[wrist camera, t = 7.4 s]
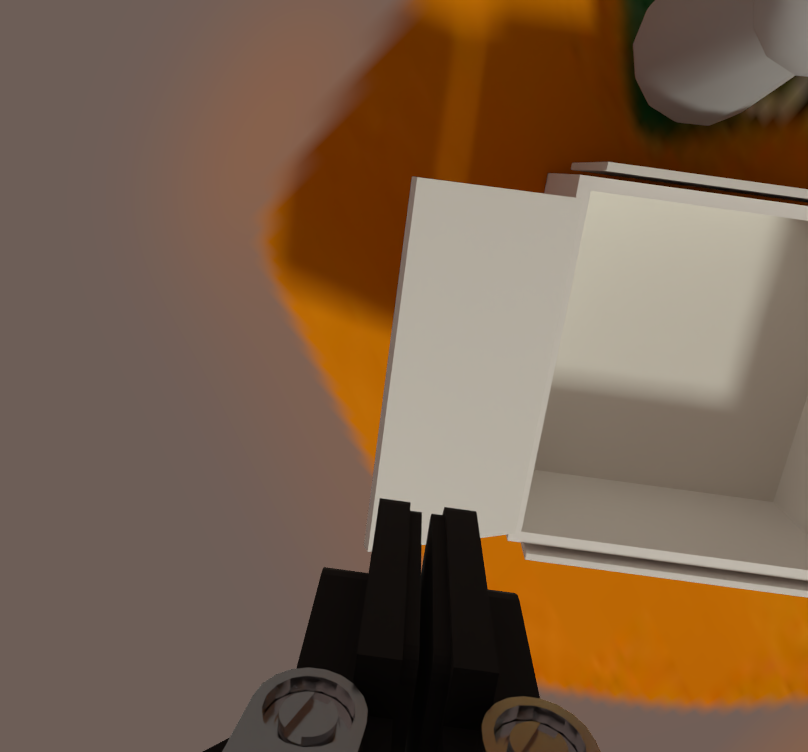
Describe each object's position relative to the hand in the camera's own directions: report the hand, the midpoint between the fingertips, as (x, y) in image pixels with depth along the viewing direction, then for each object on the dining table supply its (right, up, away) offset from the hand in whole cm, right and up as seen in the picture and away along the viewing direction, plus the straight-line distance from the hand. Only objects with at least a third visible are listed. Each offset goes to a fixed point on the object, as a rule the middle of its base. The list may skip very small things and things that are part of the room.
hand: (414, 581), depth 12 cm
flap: (+2, +3, +13) cm, 14 cm away
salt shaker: (+12, +17, +18) cm, 28 cm away
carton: (+13, +5, +22) cm, 26 cm away
